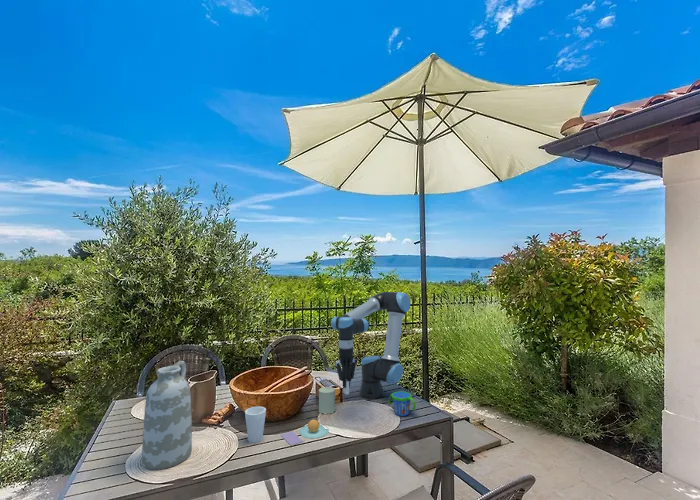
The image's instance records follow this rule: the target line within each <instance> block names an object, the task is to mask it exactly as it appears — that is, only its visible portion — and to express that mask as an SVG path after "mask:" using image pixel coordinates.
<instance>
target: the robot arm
mask: <svg viewBox="0 0 700 500" xmlns="http://www.w3.org/2000/svg"><path fill="white" fill-rule="evenodd" d="M410 309H411V300H410V297H409V295H408V294H407V293H405V292H401V291H382V292H379V293H376V294H375V295H373V296H371V297H369V298H368V300H367V301H365V302H363V303H362V304H361V305H359V306H357V307H354V308H353V309H352V310H349V311H347V312H346V313H345V314H343V315H342V316H334V317H332V319H331V322H330V325H331V328H332V330H335V331H338V347H339V348H338V361H335V362H334V365H335V367H336V371H337V375H338V380H339V381H340V382H342V388H343V394H345V395H349V394H350V387H351V381H352V379H354V378H355V370H356V365H357V362H358V359H356V358H354V356H353V355H354V348H353V346H354V335H357V334H363V333H366V332H367V331H368V330H369V322H368V320H367V319H366V317H368V316H369V315H371V314H372V313H374V312H378V311H379V312H380V311H383V310H384V311H386V314H387V315H388V320H387V326H386V328H387V329H386V333H385V335H386V336H385V342H384V351H383V355H382V356H379V355H370V356H365V357H364V356H363V358H362V359H361V384H360V388H359V393H358V394H359V396H360V397H362V398H365V399H371V400H373V399H379V398H382V397H384V394H385V393H384V388H383V385H382V382H385V383H387V384H397V383H399V381H400V380H401V379H402V377H403V374H404V367H403V365H402V364H401V360H400V358H399V352H400V351H399V350H400V342H401V334H402V333H401V332H402V325H403V318H404V317H405V316H406V314H407V312H409V310H410Z"/></svg>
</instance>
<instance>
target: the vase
mask: <svg viewBox="0 0 700 500" xmlns="http://www.w3.org/2000/svg"><path fill="white" fill-rule="evenodd" d="M180 372H181V373H180ZM156 374H157V376H158V378H157V379H156V380H155V381H153V383H151V385H150V386H149V388H148V389H147V392H146V395H145V396H146V397H145V402H144V405H145V406H144V417H143V427H142V428H143V429H142V442H141V447H142V449H141V464H142V467H144V468H146V469H147V470H153V471H155V470H162V469H163V470H164V469H168V468H172V467H175V466H177V465H179V464H181V463H183V462H185V461H186V460H188V458H189V457H190V456H191V454H192V452H193V448H192V447H193V444H192V443H193V440H192V439H193V434H192V433H193V429H192V427H193V425H192V422H193V421H192V401H191V400H192V397H191V389H190V388H191V387H190V385H189V383H188V381H187V379H186V376H187V375H186V374H187V364H186V362H185V361H183V360H179V361H177V362H175V364H172V365H168V366H164V367H160V368H158V369H157V370H156Z"/></svg>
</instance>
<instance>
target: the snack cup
mask: <svg viewBox="0 0 700 500" xmlns="http://www.w3.org/2000/svg"><path fill="white" fill-rule="evenodd" d="M414 399H415V398H413V396H412V394H411V393H410V392H407V391H403V390H401V391H399V390H398V391H395V392H392V393H391V394H390V395H389V396H388V401H387V402H388V403H387V404H388V406H389V405H391V404H392V405H393V409H394V413H395V415H397V416H399V417H405V416H408V415H409V413H410V408H411V402H412V411H415V410H416V403H415V402H416V401H415V400H414Z"/></svg>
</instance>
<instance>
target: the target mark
mask: <svg viewBox="0 0 700 500" xmlns="http://www.w3.org/2000/svg"><path fill="white" fill-rule="evenodd" d="M322 425H323V424H320V423H319V429H318V430H317V431H316V432H310V431H309V429H308V424H307V425H305V426H303V427H302V428H300V430H299V434H300V436H302V437H304V438H306V439H319V438H322V437H325V436H327V435H328V433H329V428H328V429H325V428H324V427H323V426H322Z"/></svg>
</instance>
